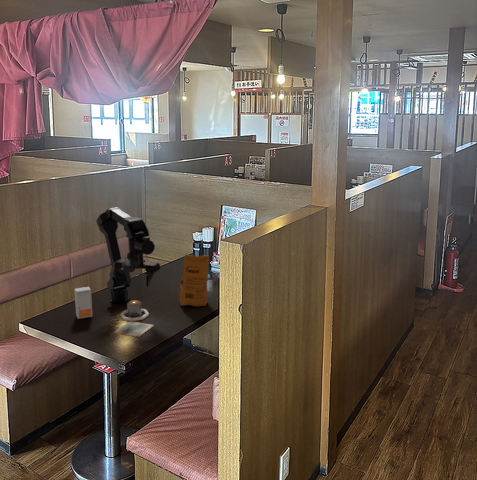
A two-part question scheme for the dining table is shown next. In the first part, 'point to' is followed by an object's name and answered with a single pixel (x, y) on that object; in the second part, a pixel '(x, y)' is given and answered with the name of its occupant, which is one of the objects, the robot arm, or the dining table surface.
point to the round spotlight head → (134, 309)
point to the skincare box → (83, 302)
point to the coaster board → (134, 329)
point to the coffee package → (194, 281)
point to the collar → (136, 317)
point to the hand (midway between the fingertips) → (137, 285)
